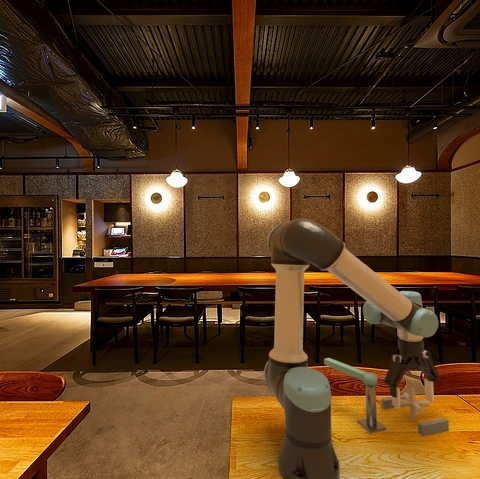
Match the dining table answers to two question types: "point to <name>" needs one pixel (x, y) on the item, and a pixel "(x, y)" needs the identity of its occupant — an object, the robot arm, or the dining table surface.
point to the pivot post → (371, 412)
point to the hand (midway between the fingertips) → (413, 403)
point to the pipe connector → (413, 403)
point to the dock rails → (423, 427)
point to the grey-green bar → (352, 371)
